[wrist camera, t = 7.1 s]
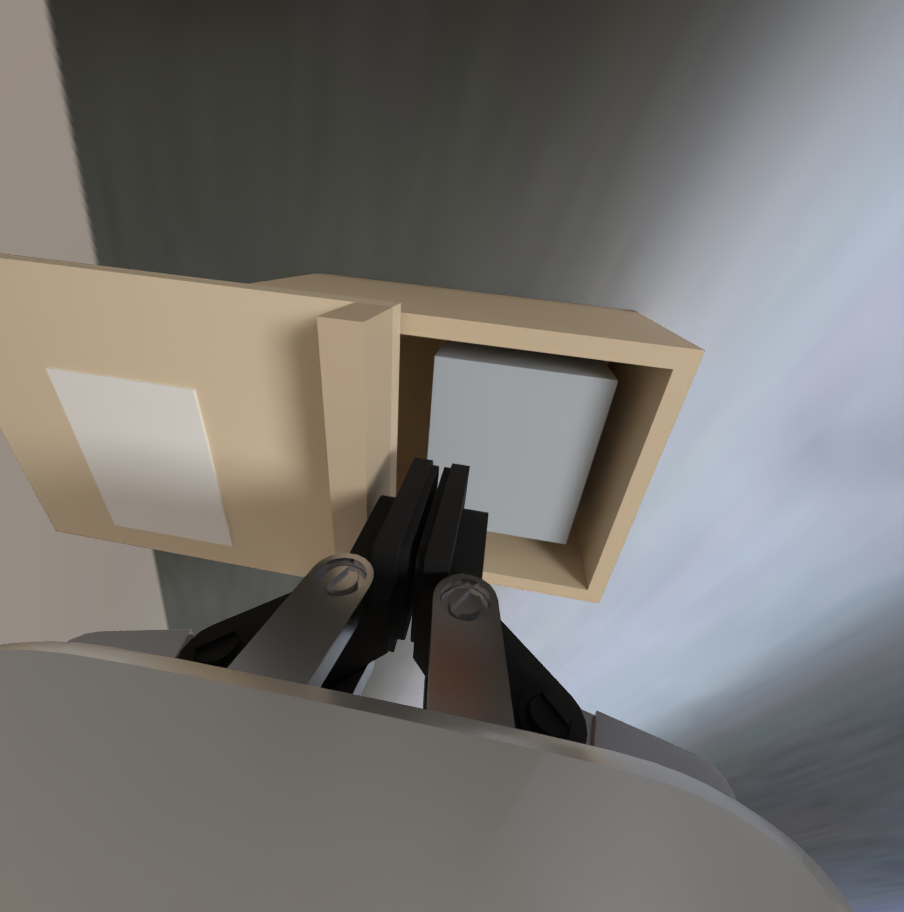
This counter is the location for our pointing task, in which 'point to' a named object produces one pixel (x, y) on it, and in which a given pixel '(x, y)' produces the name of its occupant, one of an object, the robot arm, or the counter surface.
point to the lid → (199, 410)
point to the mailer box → (533, 419)
